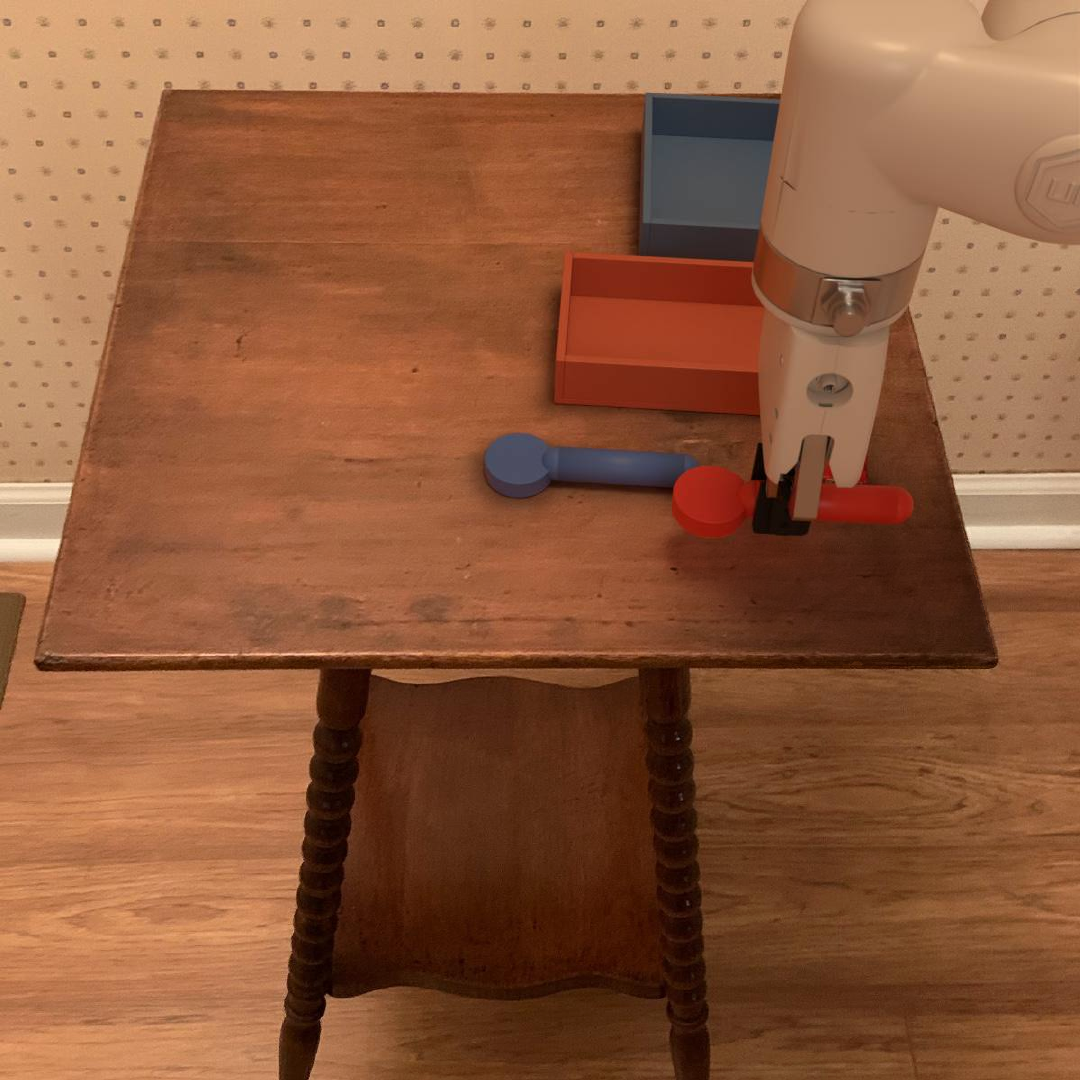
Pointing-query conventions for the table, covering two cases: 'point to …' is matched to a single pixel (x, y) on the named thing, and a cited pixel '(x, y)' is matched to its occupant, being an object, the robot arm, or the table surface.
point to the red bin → (658, 334)
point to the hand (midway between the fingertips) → (777, 510)
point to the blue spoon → (575, 465)
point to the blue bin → (704, 175)
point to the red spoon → (725, 500)
